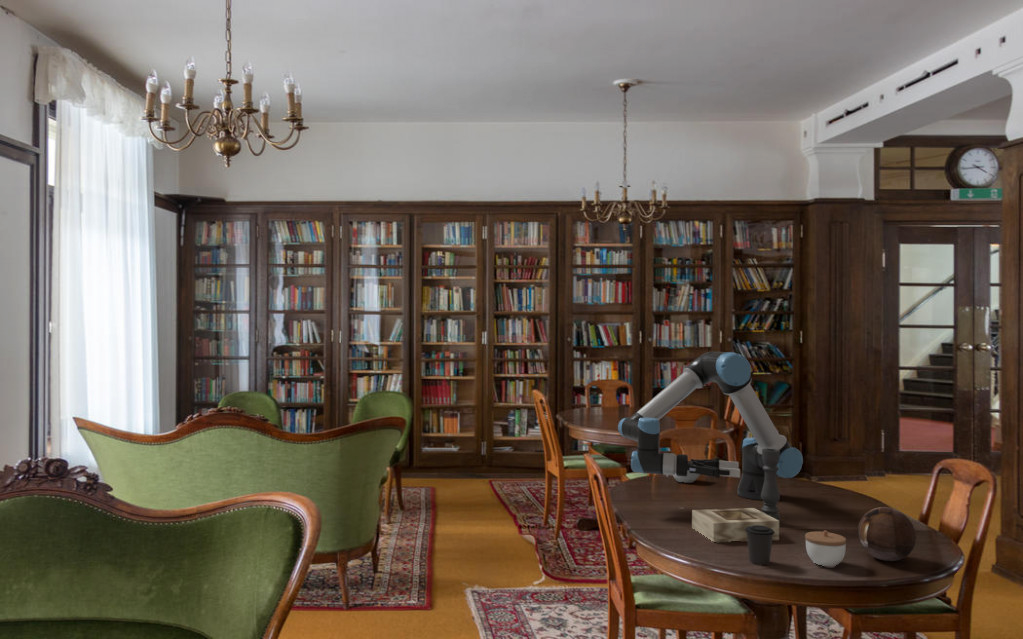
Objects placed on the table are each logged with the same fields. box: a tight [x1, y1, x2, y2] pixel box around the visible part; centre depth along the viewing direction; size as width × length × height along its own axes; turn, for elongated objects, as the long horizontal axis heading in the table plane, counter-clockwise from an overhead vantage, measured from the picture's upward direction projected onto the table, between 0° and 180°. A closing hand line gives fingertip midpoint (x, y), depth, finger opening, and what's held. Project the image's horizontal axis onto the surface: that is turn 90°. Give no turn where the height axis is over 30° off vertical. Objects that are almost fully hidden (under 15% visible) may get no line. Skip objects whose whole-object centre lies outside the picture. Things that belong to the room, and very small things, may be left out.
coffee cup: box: [745, 525, 775, 566], centre depth 209 cm, size 8×8×10 cm
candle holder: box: [760, 449, 781, 521], centre depth 250 cm, size 6×6×25 cm
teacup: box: [672, 470, 702, 484], centre depth 314 cm, size 14×11×8 cm
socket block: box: [691, 507, 780, 543], centre depth 237 cm, size 22×16×6 cm
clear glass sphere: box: [857, 506, 917, 562], centre depth 213 cm, size 15×15×15 cm
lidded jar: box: [804, 530, 847, 567], centre depth 208 cm, size 11×11×9 cm
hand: (739, 469), depth 252 cm, fingers open, 13 cm apart
